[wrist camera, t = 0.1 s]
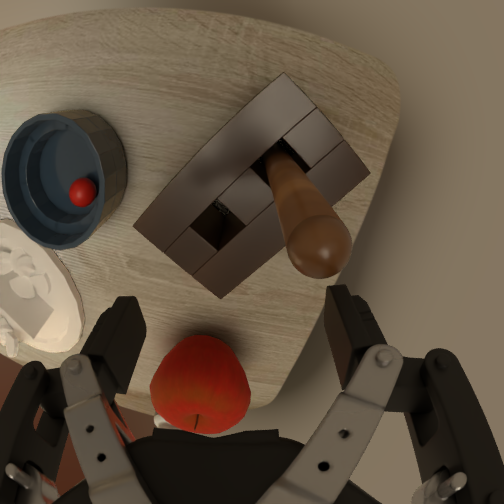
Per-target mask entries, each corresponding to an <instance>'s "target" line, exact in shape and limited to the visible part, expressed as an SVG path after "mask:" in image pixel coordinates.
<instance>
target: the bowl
mask: <svg viewBox="0 0 504 504" xmlns="http://www.w3.org/2000/svg"><path fill="white" fill-rule="evenodd" d="M126 170H127V165H126V161H125V156H124V152H123V148H122V145H121V143H120V141H119V139H118V137H117V136H116V134H115V132H114V130H113V129H112V127H110V126H109V125H108V124H107V123H106V122H105V121H104V120H103V119H102V118H101V117H100V116H98V115H96V114H93V113H91V112H88V111H85V110H64V111H57V112H50V113H43V114H38V115H36V116H34V117H32V118H31V119H29V120H27V121H25V122H24V123H23V124H22V125H21V126H20V127H19V128H18V129H17V131H16V132H15V133H14V134H13V135H12V137H11V139H10V141H9V144H8V146H7V148H6V151H5V153H4V158H3V165H2V173H1V174H2V187H3V194H4V197H5V200H6V204H7V207H8V210H9V212H10V214H11V215H12V217H13V219H14V221H15V222H16V224H17V226H18V227H19V228H20V229H21V230H22V231H23V232H24V233H25V234H26V235H27V236H28V237H29V238H30V239H31V240H32V241H34V242H36V243H38V244H39V245H41V246H43V247H45V248H50V249H55V250H65V249H70V248H75V247H77V246H78V245H80V244H81V243H83V242H84V241H86V240H87V239H89V238H90V237H91V236H92V235H93V234H94V233H95V232H96V231H97V230H98V229H99V228H100V227H101V226H102V225H103V224H104V223H105V222H106V221H107V220H108V219H109V218H110V217H111V216H112V214H113V213H114V211H115V210H116V209H117V207H118V206H119V204H120V202H121V199H122V196H123V193H124V190H125V186H126ZM79 178H88V179H90V180H92V181H93V182H94V184H95V186H96V190H97V193H96V197H95V199H94V201H93V202H92V203H91V204H90V205H89V206H86V207H78V206H76V205H74V204H73V203H72V202H71V200H70V197H69V189H70V186H71V185H72V183H73V182H74V181H75V180H77V179H79Z"/></svg>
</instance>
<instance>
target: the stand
mask: <svg viewBox="0 0 504 504" xmlns="http://www.w3.org/2000/svg"><path fill="white" fill-rule="evenodd" d="M280 138H282V139H283V141H284V142H285V143H286V144H287V145H288V146H289V147H290V148H291V149H292V150H293V151H294V152H295V153H294V154H293V155H292V156H291V157H292V159H293V160H294V161H295V162H296V163H297V165H298V166H299V167H300V168H301V169H302V171H303V172H304V173H305V174H306V175H307V177H308V178H309V179H310V180H311V182H312V183H313V184H314V185H315V187H316V188H317V189H318V190H319V192H320V193H321V194H322V196H323V197H324V198H325V199H326V201H327V202H328V203H329V205H330V206H331V207H332V206H333V205H334V204H336V203H337V202H338V201H339V200H340V199H341V198H343V197H344V196H345V195H346V194H347V193H348V192H350V191H351V190H352V189H353V188H354V187H355V186H357V185H358V184H359V183H360V182H361V181H362V180H364V179H365V178H366V177H367V176H368V175H369V174H370V171H369V170H368V169H367V167H366V166H365V165H364V163H363V162H362V161H361V159H360V158H359V157H358V156H357V154H356V153H355V152H354V150H353V149H352V148H351V147H350V145H349V144H348V143H347V142H346V140H344V138H343V137H342V135H341V134H340V133H339V132H338V131H337V129H336V128H335V127H334V126H333V125H332V123H331V122H330V121H329V120H328V119H327V118H326V117H325V115H324V114H323V113H322V112H321V111H320V110H319V109H318V108H317V106H316V105H315V104H314V103H313V102H312V101H311V100H310V99H309V98H308V96H307V95H306V94H305V93H304V92H303V91H302V90H301V89H300V88H299V87H298V86H297V85H296V84H295V83H294V82H293V81H292V80H291V79H290V78H289V77H288V76H287V75H286V74H285V73H284V72H283V73H282V74H281V75H279V76H278V77H277V78H276V79H275V80H273V81H272V82H271V83H270V84H269V85H268V86H267V87H265V88H264V89H263V90H262V91H261V92H260V93H259V94H257V95H256V96H255V97H254V98H253V99H252V100H251V101H250V102H249V103H247V104H246V105H245V106H244V107H243V108H242V109H241V110H240V111H239V112H238V113H237V114H236V115H235V116H234V117H232V118H231V119H230V120H229V121H228V122H227V123H226V124H225V125H224V126H223V127H222V128H221V129H220V130H219V131H218V132H217V133H216V134H215V135H214V136H213V137H212V138H211V139H210V140H209V141H208V142H207V143H206V144H205V145H204V146H203V147H202V148H201V149H200V150H199V151H198V152H197V153H196V154H195V155H194V156H193V158H192V159H191V160H190V161H189V162H188V163H187V164H186V165H185V166H184V167H183V168H182V169H181V170H180V171H179V173H178V174H177V175H176V176H175V177H174V178H173V179H172V180H171V181H170V182H169V184H168V185H167V186H166V187H165V188H164V189H163V190H162V192H161V193H160V194H159V195H158V196H157V197H156V198H155V200H154V201H153V202H152V203H151V204H150V205H149V207H148V208H147V209H146V210H145V211H144V213H143V214H142V215H141V216H140V217H139V219H138V220H137V221H136V222H135V224H134V225H133V227H134V228H135V229H136V230H137V231H138V232H140V233H141V234H142V235H143V236H144V237H145V238H146V239H148V240H149V241H150V242H151V243H152V244H153V245H155V246H156V247H157V248H158V249H159V250H161V251H162V252H164V254H166V255H167V256H168V257H169V258H170V259H171V260H173V261H174V262H175V263H176V264H177V265H179V266H180V267H181V268H182V269H184V270H185V271H186V272H187V273H188V274H190V275H191V276H192V277H193V278H195V279H196V280H197V281H198V282H199V283H201V284H202V285H203V286H204V287H206V288H207V289H208V290H209V291H211V292H212V293H213V294H214V295H216V296H217V297H218V298H220V299H222V298H223V297H224V296H225V295H227V294H228V293H229V292H230V291H232V290H233V289H234V288H235V287H236V286H238V285H239V284H240V283H241V282H243V281H244V280H245V279H246V278H247V277H249V276H250V275H251V274H252V273H253V272H255V271H256V270H257V269H258V268H259V267H261V266H262V265H263V264H264V263H265V262H267V261H268V260H269V259H270V258H272V257H273V256H274V255H275V254H276V253H277V252H279V251H280V250H281V249H282V248H283V247H285V246H286V245H285V241H284V237H283V233H282V229H281V225H280V221H279V217H278V213H277V209H276V206H275V202H274V198H273V194H272V191H271V187H270V183H269V179H268V176H267V172H266V168H265V166H264V165H263V164H262V163H261V162H260V161H259V160H258V158H260V157H261V156H262V155H263V154H264V153H265V152H266V151H267V150H268V149H269V148H270V147H272V146H273V145H274V144H275V143H276V142H277V141H278V140H279V139H280ZM216 198H217V199H218V200H219V201H220V202H221V203H222V204H224V205H225V206H226V207H227V208H228V209H229V210H230V211H231V212H230V213H229V214H228V215H227V216H224V215H223V214H222V213H220V212H219V211H218V210H217V209H216V208H215V207H214V206H213V205H212V204H211V203H212V202H213V201H214V200H215V199H216Z"/></svg>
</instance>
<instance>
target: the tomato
mask: <svg viewBox="0 0 504 504" xmlns="http://www.w3.org/2000/svg"><path fill="white" fill-rule="evenodd" d="M96 193H97V190H96V186H95V184H94V182H93V181H92V180H90V179H88V178H79V179H77V180H75V181H74V182H73V183H72V185H71V186H70V189H69V197H70V200H71V202H72V203H73V204H74V205H76V206H78V207H86V206H89V205H90V204H91V203H92V202H93V201H94V199H95V197H96Z"/></svg>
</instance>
